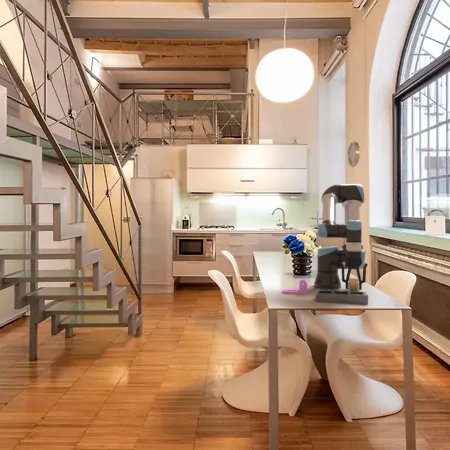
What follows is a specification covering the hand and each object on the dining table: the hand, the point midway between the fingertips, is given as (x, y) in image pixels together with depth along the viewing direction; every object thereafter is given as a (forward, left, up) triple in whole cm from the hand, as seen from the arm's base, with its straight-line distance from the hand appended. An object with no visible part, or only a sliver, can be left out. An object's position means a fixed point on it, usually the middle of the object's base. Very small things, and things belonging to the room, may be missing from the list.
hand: (353, 295), depth 203 cm
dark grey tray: (+12, -7, 0) cm, 14 cm away
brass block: (0, 0, 0) cm, 0 cm away
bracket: (-3, -30, -1) cm, 30 cm away
